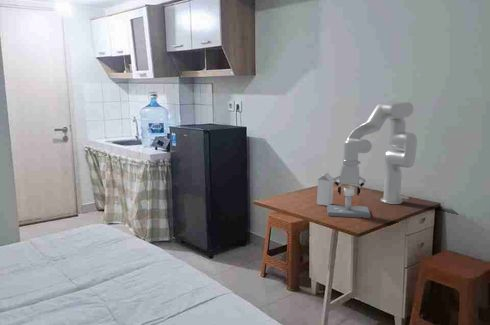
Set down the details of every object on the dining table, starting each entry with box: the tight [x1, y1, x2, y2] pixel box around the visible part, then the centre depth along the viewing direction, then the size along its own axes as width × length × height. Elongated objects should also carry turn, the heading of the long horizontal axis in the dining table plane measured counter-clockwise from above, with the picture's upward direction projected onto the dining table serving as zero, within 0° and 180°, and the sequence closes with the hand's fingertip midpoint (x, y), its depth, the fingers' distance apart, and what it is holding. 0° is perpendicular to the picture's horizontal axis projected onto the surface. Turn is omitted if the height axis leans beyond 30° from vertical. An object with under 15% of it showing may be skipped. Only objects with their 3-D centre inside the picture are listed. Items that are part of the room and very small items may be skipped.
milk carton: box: [316, 171, 334, 207], centre depth 250 cm, size 7×7×19 cm
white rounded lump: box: [342, 185, 356, 197], centre depth 232 cm, size 6×6×5 cm
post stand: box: [326, 195, 372, 219], centre depth 233 cm, size 22×15×10 cm
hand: (348, 194), depth 232 cm, fingers open, 9 cm apart
